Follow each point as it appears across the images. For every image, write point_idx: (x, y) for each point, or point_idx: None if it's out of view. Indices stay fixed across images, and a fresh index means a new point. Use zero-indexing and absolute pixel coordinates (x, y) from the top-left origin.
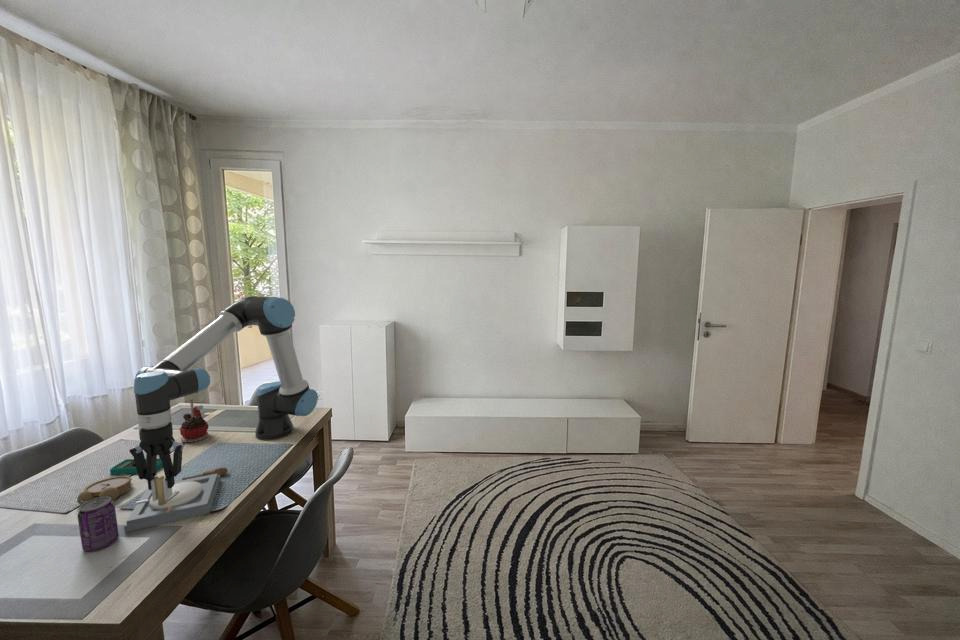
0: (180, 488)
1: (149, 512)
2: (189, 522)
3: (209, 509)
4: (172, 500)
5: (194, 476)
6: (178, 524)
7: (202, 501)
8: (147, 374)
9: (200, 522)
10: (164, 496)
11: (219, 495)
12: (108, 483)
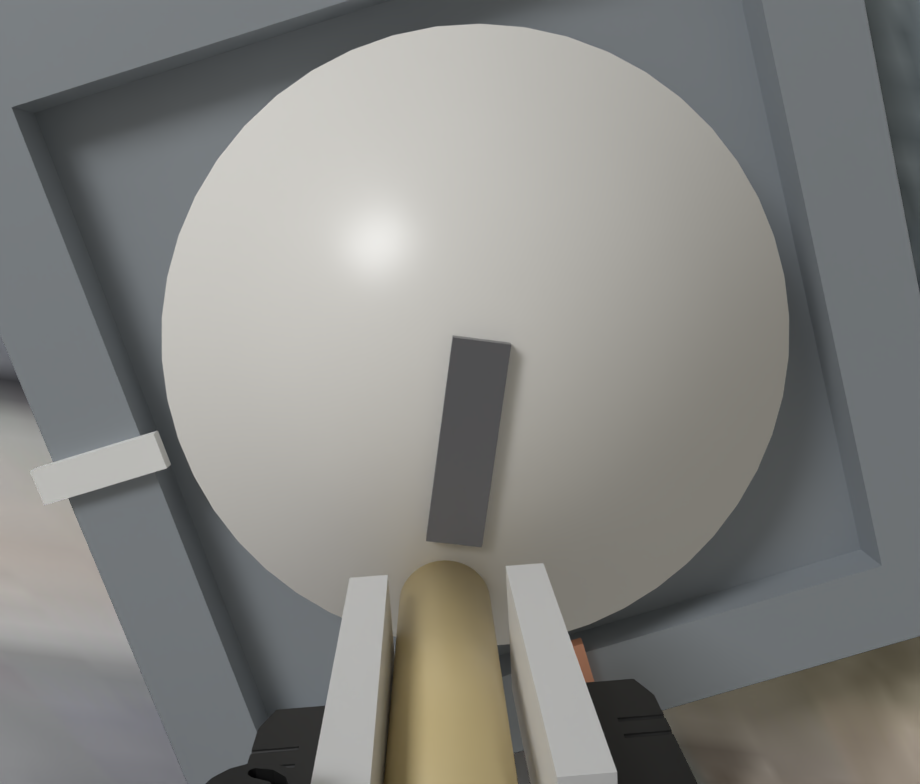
0: (472, 241)
1: (323, 626)
2: (789, 705)
3: None
4: (534, 548)
5: None
6: (693, 723)
7: (905, 563)
8: None
9: (900, 718)
10: (519, 723)
11: (911, 218)
12: None
